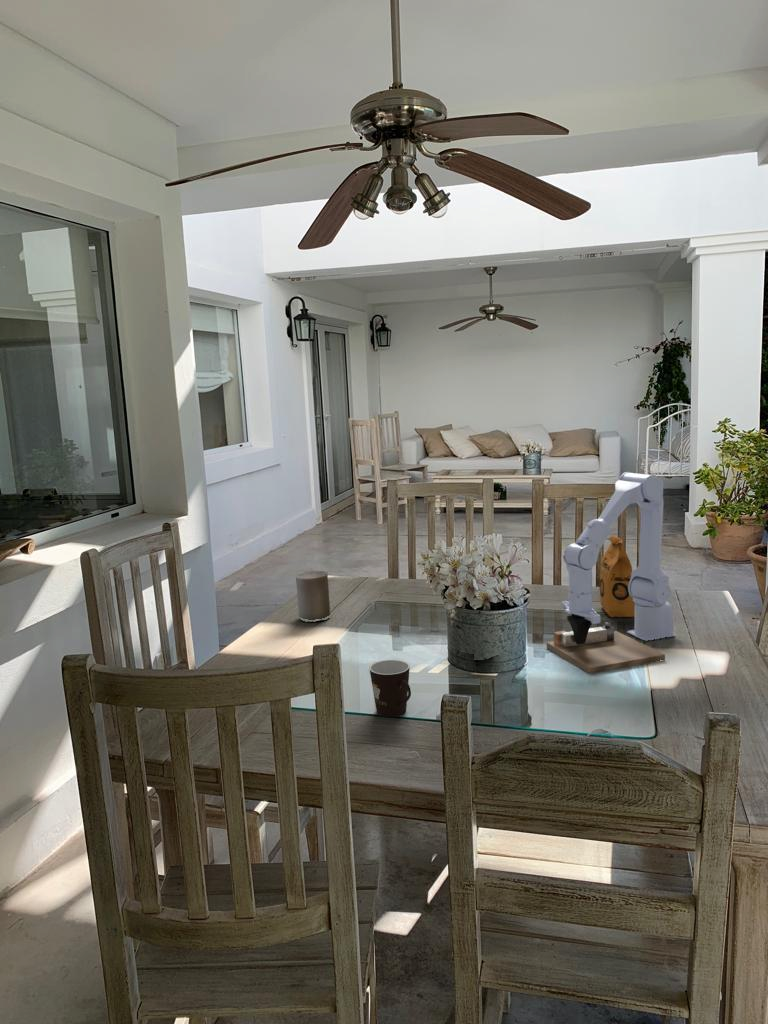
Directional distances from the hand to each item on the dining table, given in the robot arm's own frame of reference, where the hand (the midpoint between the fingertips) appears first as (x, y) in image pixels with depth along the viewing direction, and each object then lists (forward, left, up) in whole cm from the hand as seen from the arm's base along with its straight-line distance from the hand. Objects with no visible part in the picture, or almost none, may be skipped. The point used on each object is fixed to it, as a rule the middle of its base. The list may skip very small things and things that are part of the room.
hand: (580, 643), depth 198 cm
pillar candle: (+55, -60, -3) cm, 81 cm away
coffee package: (-28, -25, -3) cm, 38 cm away
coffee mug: (+56, +15, -3) cm, 58 cm away
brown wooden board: (-5, +3, -3) cm, 6 cm away
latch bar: (-4, -2, -1) cm, 4 cm away
